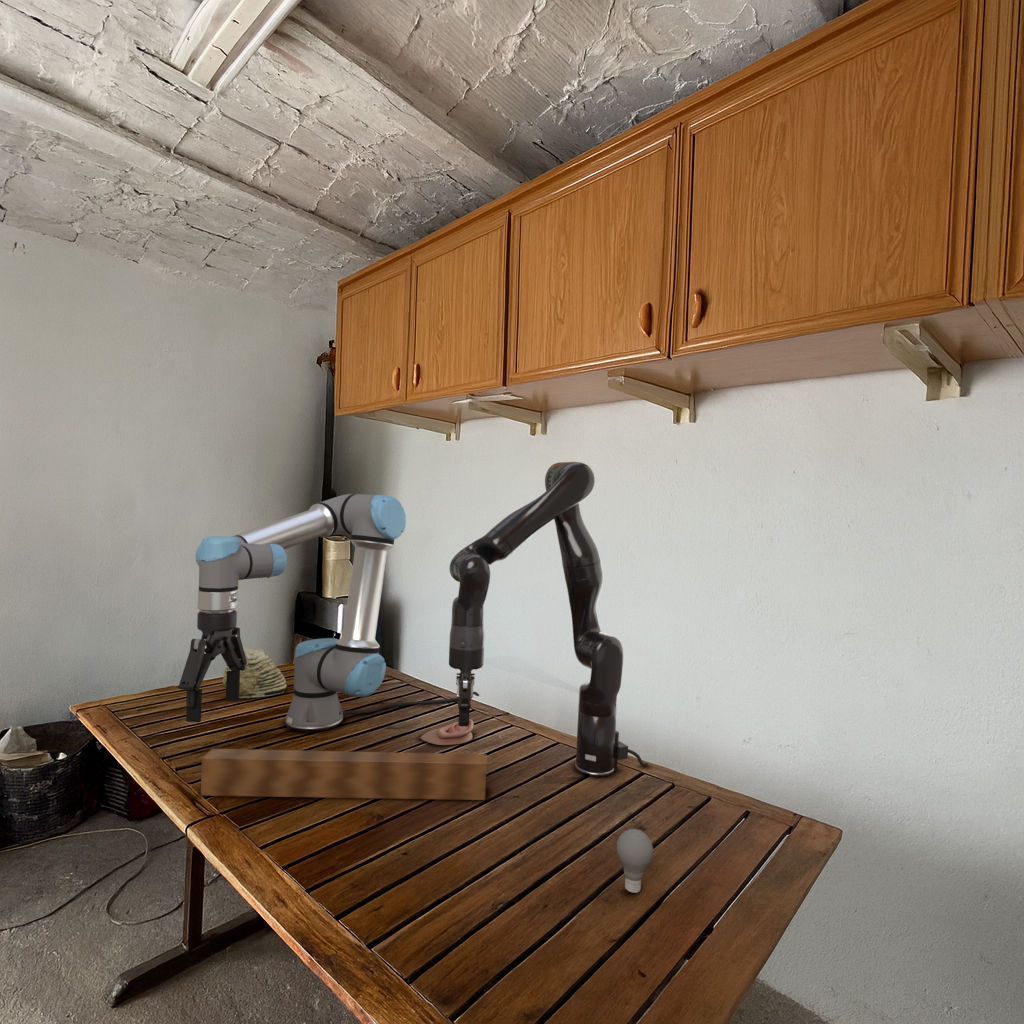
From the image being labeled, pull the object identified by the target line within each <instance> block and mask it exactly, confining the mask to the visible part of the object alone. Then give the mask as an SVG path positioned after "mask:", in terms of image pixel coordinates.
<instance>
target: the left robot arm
mask: <svg viewBox="0 0 1024 1024" xmlns="http://www.w3.org/2000/svg"><path fill="white" fill-rule="evenodd" d="M406 524H407V517H406V513H405V509H404V506H402V503H401V502H400V501H399V500H398V499H397V498H396V497H394V496H392V495H385V494H370V493H369V494H368V493H367V494H364V493H347V494H342V495H339V496H335V497H332V498H329V499H326V500H323V501H320V502H317V503H315V504H312V505H311V506H310V507H309V508H308V510H305V511H302V512H299V513H296V514H294V515H291V516H288V517H285V518H282V519H279V520H276V521H273V522H270V523H267V524H264V525H261V526H258V527H256V528H253V529H250V530H247V531H244V532H242V533H238V534H236V535H235V534H234V535H232V536H223V535H221V536H217V535H215V536H213V535H212V536H205V537H204V538H202V539H201V540H200V541H201V542H200V543H199V545H198V546H197V548H196V550H195V554H194V557H195V562H196V564H197V566H198V567H199V568H198V591H197V609H198V610H199V611H198V612H197V615H196V616H197V617H196V618H197V620H196V624H197V625H196V627H197V630H199V631H200V632H201V638H192V639H191V640H190V647H189V652H188V656H187V658H186V661H185V662H186V663H185V664H184V668H183V671H182V673H181V674H182V675H181V678H180V681H179V684H178V689H179V690H183V691H186V700H185V705H186V710H185V711H186V714H185V715H186V716H185V722H186V723H197V724H199V723H201V722H202V706H203V705H202V701H203V689H202V688H201V686H202V683H203V681H204V679H205V676H206V674H207V672H208V670H209V668H210V665H211V663H212V662H213V661H215V660H216V658H217V657H218V656H219V655H221V657H222V658H223V661H224V662H225V664H226V665H227V666H228V667H229V669H230V670H231V671H227V678H226V688H225V701H226V702H235V703H237V702H239V701H240V698H239V686H240V670H241V671H244V670H245V668H246V667H245V665H246V664H247V660H246V656H245V653H244V649H243V647H244V646H243V642H242V638H241V628H240V627H237V623H238V622H237V621H238V612H237V611H236V610H235V609H237V608H238V599H239V596H238V589H239V581H243V580H252V579H263V578H266V579H270V578H273V577H278V576H280V575H282V574H283V573H284V572H285V570H286V568H287V566H288V555H287V554H288V553H287V552H286V550H287V549H290V548H292V547H295V546H297V545H299V544H302V543H305V542H308V541H310V540H313V539H316V538H318V537H319V538H324V539H325V538H328V537H331V536H335V535H348V536H349V535H350V542H351V543H352V545H353V546H354V555H353V561H352V568H351V575H350V582H349V588H348V589H349V591H348V597H347V603H346V610H345V611H346V612H345V618H344V624H343V632H342V636H341V637H340V638H339V639H338V638H335V637H326V638H313V639H308V640H304V641H302V642H299V643H298V644H297V645H296V647H295V652H294V653H295V654H294V657H293V659H294V660H293V662H294V663H293V665H294V666H293V695H292V696H293V697H292V699H291V702H290V704H289V708H288V711H287V713H286V715H285V726H286V728H287V729H289V730H291V731H294V732H295V731H296V732H301V733H316V732H325V731H329V730H332V729H335V728H337V727H339V726H340V725H342V723H343V722H344V715H366V714H372V713H375V712H378V711H381V710H384V709H389V708H390V709H391V708H396V707H404V706H416V705H429V704H441V703H450V702H457V701H459V699H458V698H457V697H452V698H443V699H433V700H432V699H431V700H417V701H416V700H415V701H406V702H396V703H395V702H394V703H390V704H385V705H382V706H378V707H375V708H371V709H367V710H366V709H365V710H343V709H342V706H341V702H340V699H339V695H338V693H339V694H343V695H347V696H349V697H353V698H354V697H357V698H367V697H370V696H371V695H373V694H374V693H375V692H376V691H377V690H378V688H380V686H381V685H382V683H383V681H384V679H385V675H386V672H387V663H386V661H385V658H384V657H383V656H382V655H381V654H380V648H381V646H380V644H379V642H378V641H377V640H376V635H377V627H378V621H379V612H380V606H381V599H382V592H383V586H384V585H383V583H384V576H385V570H386V562H387V554H388V552H389V551H390V550H391V549H392V548H393V547H394V544H395V540H396V539H398V538H400V537H401V536H402V534H403V533H404V531H405V529H406ZM239 659H241V660H239ZM243 665H244V666H243ZM227 666H226V667H227ZM474 695H475V696H476V697H479V696H480V694H479V693H478V692H477V691H473V696H474Z"/></svg>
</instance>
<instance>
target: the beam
mask: <svg viewBox="0 0 1024 1024" xmlns="http://www.w3.org/2000/svg"><path fill="white" fill-rule="evenodd" d="M487 765H488V764H487V754H485V753H484V754H483V753H447V752H446V753H445V752H444V753H443V752H442V753H439V752H438V753H437V752H432V753H431V752H397V751H396V752H395V751H394V752H393V751H391V752H388V751H345V750H343V751H341V750H340V751H338V750H299V749H297V750H295V749H292V750H291V749H289V750H288V749H250V748H249V749H245V748H243V749H242V748H211V749H209V751H207V753H206V754H205V755H204V756H202V758H201V773H200V774H201V775H200V777H201V778H200V796H206V797H208V796H210V797H211V796H212V797H261V798H262V797H266V798H267V797H269V798H271V797H272V798H324V799H325V798H326V799H327V798H328V799H330V798H331V799H334V798H335V799H336V798H337V799H391V800H392V799H394V800H395V799H397V800H449V801H450V800H454V801H457V800H459V801H486V789H487V788H486V787H487Z"/></svg>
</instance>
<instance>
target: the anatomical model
mask: <svg viewBox="0 0 1024 1024" xmlns="http://www.w3.org/2000/svg"><path fill="white" fill-rule="evenodd" d="M473 729H474V721H473V720H472V719H470V718H469V725H468V726H459V721H456V722H452V723H450V724H448V725H444V726H442V727H439V728H435V729H431V730H429V731H427V732H424V734H422V735H421V736H420V739H421V740H422V741H424V742H427V743H429V744H432V745H437V746H451V745H453V746H454V745H459V744H464V743H467V742H470V741H471V740H473V733H472V731H473Z"/></svg>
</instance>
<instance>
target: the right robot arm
mask: <svg viewBox="0 0 1024 1024" xmlns="http://www.w3.org/2000/svg"><path fill="white" fill-rule="evenodd" d="M595 485H596V476H595V473H594V471H593V469H592V467H590V466H589V465H588V464H586V463H584V462H579V461H562V462H561V461H560V462H556V463H553V464H552V465H551V466H549V467H548V469H547V471H546V473H545V476H544V488H545V492H544V493H542V494H541V495H540V496H538V497H537V498H535V499H534V500H532V501H531V502H529V503H527V504H525V505H523V506H521V507H519V508H518V509H516V510H515V511H513V512H511V513H510V514H508V515H507V516H506V517H504V518H502V520H500V521H499V522H497V524H496V525H494V526H493V527H492V528H491V529H490V530H489V531H487V533H486V534H484V535H483V536H481V537H480V538H478V539H476V540H475V541H473V542H471V543H470V544H468V545H466V546H465V547H463V548H462V549H461V550H459V551H458V552H457V553H456V554H455V555H454V556H453V557H452V558H451V561H450V564H449V574H450V576H451V577H452V579H453V580H454V581H456V582H457V583H459V586H458V594H457V596H456V597H455V598H454V599H453V601H452V606H451V624H450V631H449V644H448V645H449V647H448V648H449V649H448V666H449V667H450V668H452V669H454V670H459V671H460V672H456V679H455V684H456V698H458V699H459V700H458V703H457V708H458V722H459V726H468V725H469V719H470V711H471V710H470V709H471V707H472V704H471V700H472V699H473V698H474V694H473V692H474V686H475V681H476V677H475V676H476V674H475V673H473V672H472V671H473V670H479V669H481V668H483V666H484V659H485V604H486V601H487V597H488V593H489V588H490V585H491V575H492V573H491V572H492V571H491V565H492V564H494V563H496V562H499V561H503V560H506V559H507V558H508V557H510V556H511V555H512V554H513V553H514V552H515V551H517V550H518V549H519V548H520V547H521V546H522V545H523V544H524V543H526V541H528V540H529V539H530V538H531V537H532V536H534V535H535V534H536V533H537V532H538V531H540V530H541V529H542V528H543V527H545V526H546V525H548V524H549V523H550V522H552V521H553V520H554V524H555V529H556V535H557V541H558V546H559V550H560V558H561V564H562V570H563V575H564V580H565V585H566V590H567V596H568V603H569V609H570V614H571V626H572V638H573V649H574V654H575V657H576V659H577V661H578V662H579V663H580V664H581V665H582V666H584V667H586V668H588V669H590V679H589V681H588V682H587V681H586V682H584V683H582V684H581V685H580V686H579V688H578V708H577V729H576V731H577V732H576V747H575V748H576V751H575V763H574V764H575V765H574V768H575V770H576V771H577V772H578V773H581V774H582V775H585V776H589V777H595V778H598V777H599V778H603V777H609V776H611V775H613V774H614V773H615V772H617V771H618V763H619V762H618V761H622V760H627V759H628V756H629V754H631V755H632V756H634V757H635V758H636V759H637V761H638V763H639V764H640V765H641V766H642V767H648V765H649V764H648V762H644V761H643V760H642V758H641V756H640V755H639V753H637V752H636V751H634V750H632V749H629V746H628V745H627V744H625V743H623V742H622V741H620V732H619V731H618V730H617V711H618V709H617V708H618V695H619V692H620V690H621V688H622V682H623V673H624V671H623V670H624V662H625V661H624V660H625V654H624V653H625V652H624V647H623V644H622V642H621V640H620V639H619V638H618V637H616V636H614V635H611V634H608V633H605V632H602V629H601V625H600V621H599V620H600V619H599V615H598V604H599V599H600V596H601V594H602V590H603V586H604V578H605V577H604V570H603V569H604V568H603V564H602V563H603V562H602V558H601V554H600V551H599V548H598V546H597V543H596V542H595V540H594V538H593V536H592V534H591V532H590V531H589V529H588V527H587V525H586V523H585V521H584V518H583V515H582V511H581V506H580V505H581V504H580V503H581V502H582V501H584V500H586V499H587V498H588V497H589V496H590V495H591V494H592V493H593V490H594V489H595Z"/></svg>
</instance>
